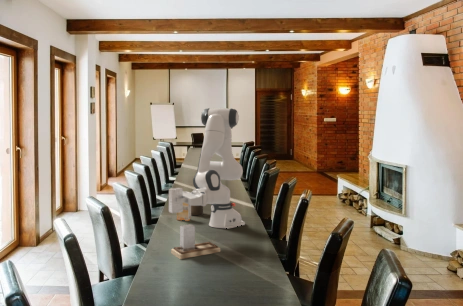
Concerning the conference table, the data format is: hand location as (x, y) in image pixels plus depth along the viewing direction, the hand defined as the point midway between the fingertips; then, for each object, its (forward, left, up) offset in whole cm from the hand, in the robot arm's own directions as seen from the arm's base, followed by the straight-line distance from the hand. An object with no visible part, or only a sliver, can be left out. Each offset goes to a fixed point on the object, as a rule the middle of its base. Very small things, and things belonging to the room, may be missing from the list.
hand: (174, 199), depth 224 cm
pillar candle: (-42, -54, -24) cm, 73 cm away
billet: (0, +16, -22) cm, 27 cm away
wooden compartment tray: (-5, +16, -24) cm, 29 cm away
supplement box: (-28, -44, -24) cm, 58 cm away
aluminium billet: (-1, 0, -6) cm, 7 cm away
